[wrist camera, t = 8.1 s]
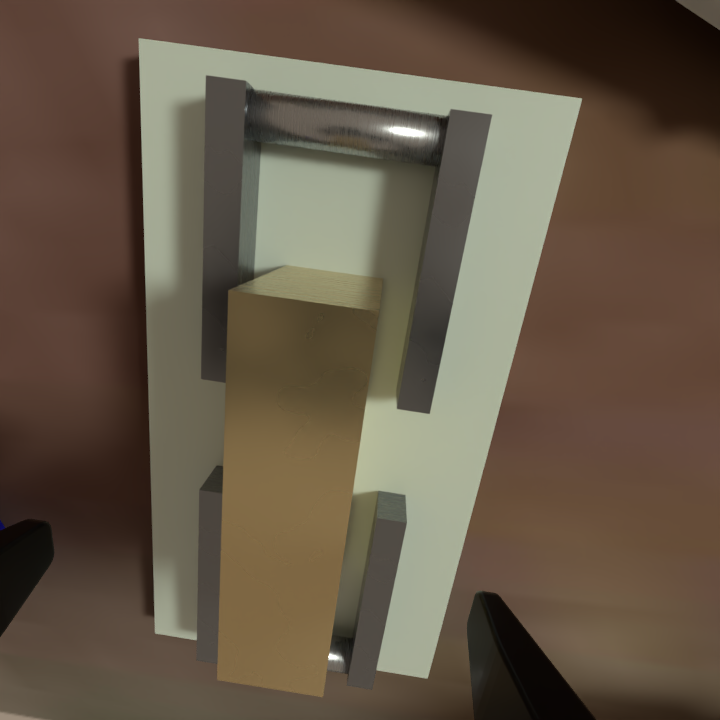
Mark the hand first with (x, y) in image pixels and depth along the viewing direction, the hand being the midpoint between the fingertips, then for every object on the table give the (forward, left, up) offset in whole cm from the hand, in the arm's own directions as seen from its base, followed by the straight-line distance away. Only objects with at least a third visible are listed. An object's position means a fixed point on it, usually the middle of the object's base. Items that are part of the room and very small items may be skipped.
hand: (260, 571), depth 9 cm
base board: (0, 0, -7) cm, 7 cm away
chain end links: (0, 0, -6) cm, 6 cm away
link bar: (0, 0, -6) cm, 6 cm away
